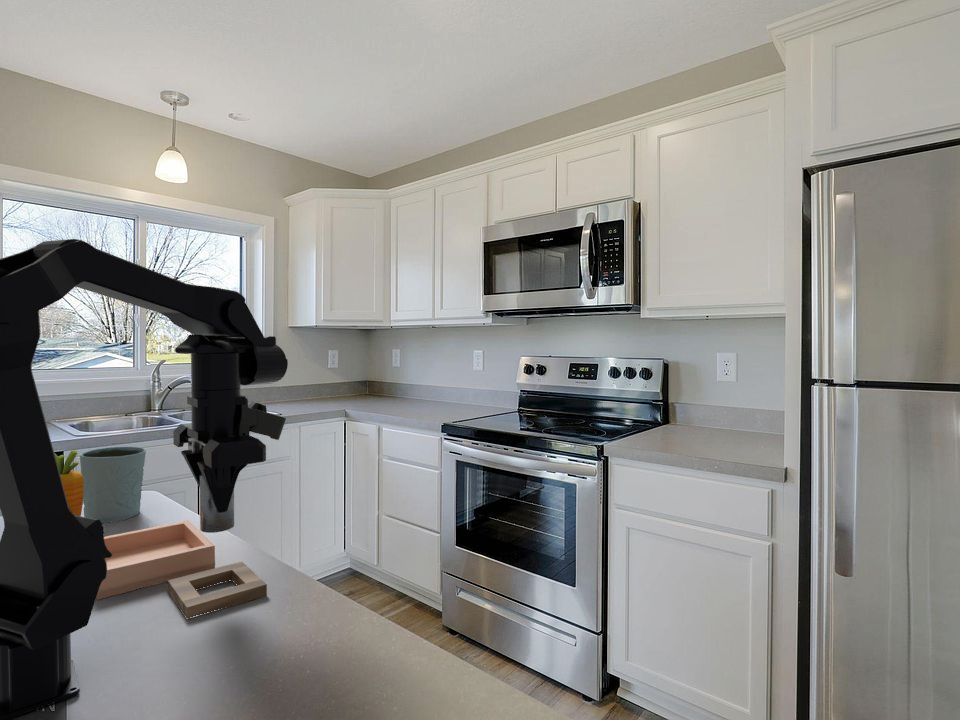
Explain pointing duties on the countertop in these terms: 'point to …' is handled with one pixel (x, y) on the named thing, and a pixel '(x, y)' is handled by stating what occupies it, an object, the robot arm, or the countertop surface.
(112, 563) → the terracotta tray
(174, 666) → the countertop surface
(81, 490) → the carrot
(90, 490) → the green embossed pot
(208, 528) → the gunmetal pin
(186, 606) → the walnut collar
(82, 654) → the countertop surface
